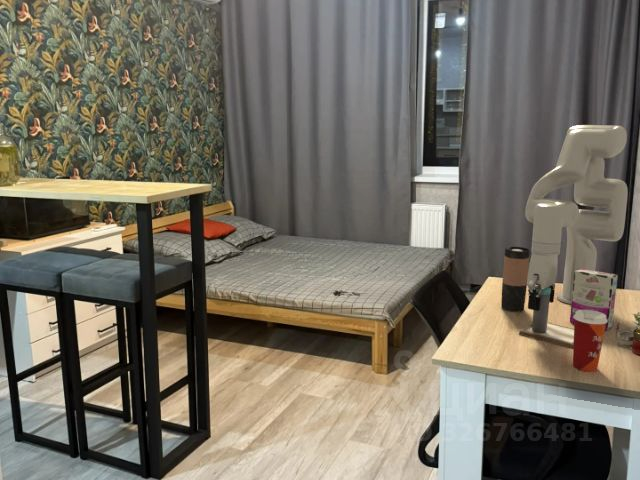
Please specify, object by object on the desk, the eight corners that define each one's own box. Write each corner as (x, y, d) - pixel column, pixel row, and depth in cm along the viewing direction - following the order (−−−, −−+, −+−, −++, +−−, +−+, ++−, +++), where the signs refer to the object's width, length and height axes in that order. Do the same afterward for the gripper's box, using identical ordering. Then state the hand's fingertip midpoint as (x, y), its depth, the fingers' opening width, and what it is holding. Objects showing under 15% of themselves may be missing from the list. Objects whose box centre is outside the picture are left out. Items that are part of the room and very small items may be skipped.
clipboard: (537, 323, 177) (538, 317, 176) (592, 336, 166) (593, 330, 165) (519, 334, 167) (519, 327, 167) (575, 349, 157) (576, 342, 156)
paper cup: (599, 376, 140) (606, 321, 137) (565, 368, 144) (571, 315, 141) (603, 365, 146) (609, 312, 143) (571, 358, 150) (576, 306, 147)
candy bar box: (612, 327, 174) (619, 274, 171) (607, 331, 171) (613, 277, 167) (574, 318, 182) (580, 267, 178) (568, 322, 178) (574, 270, 175)
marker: (535, 327, 170) (538, 284, 167) (549, 331, 167) (553, 287, 164) (528, 331, 167) (532, 287, 164) (543, 334, 164) (547, 290, 161)
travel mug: (526, 312, 186) (531, 252, 182) (501, 310, 188) (506, 250, 184) (523, 305, 194) (528, 247, 190) (499, 303, 195) (503, 245, 191)
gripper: (545, 240, 171) (540, 295, 174) (519, 250, 158) (514, 310, 162) (571, 244, 166) (565, 301, 169) (546, 255, 153) (541, 316, 157)
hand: (540, 305), depth 166 cm, fingers open, 9 cm apart
